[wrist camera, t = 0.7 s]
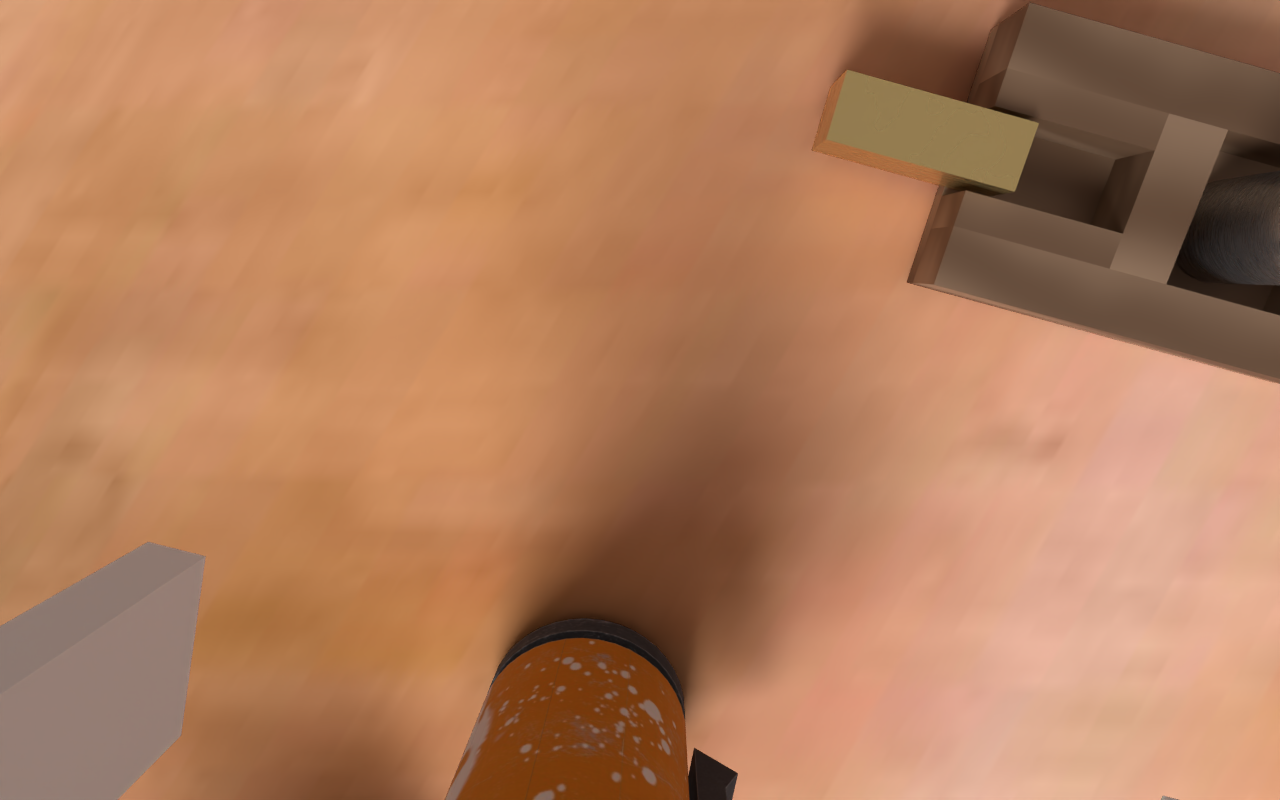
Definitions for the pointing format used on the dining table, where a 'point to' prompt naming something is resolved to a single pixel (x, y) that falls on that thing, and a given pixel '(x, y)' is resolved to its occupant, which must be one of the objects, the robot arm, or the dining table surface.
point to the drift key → (923, 135)
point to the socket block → (1112, 190)
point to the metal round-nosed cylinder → (1235, 232)
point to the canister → (585, 724)
